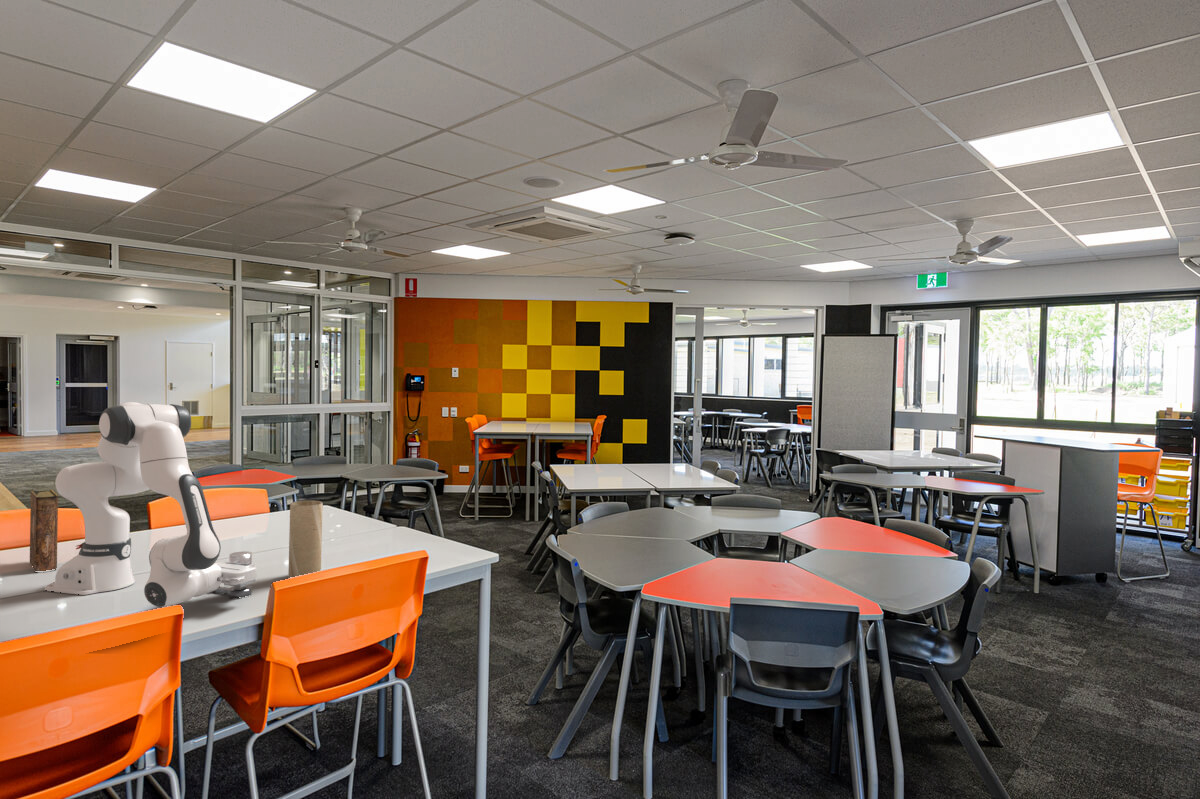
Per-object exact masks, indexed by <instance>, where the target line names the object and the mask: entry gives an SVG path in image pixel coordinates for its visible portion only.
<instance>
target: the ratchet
mask: <svg viewBox="0 0 1200 799" xmlns="http://www.w3.org/2000/svg"><path fill="white" fill-rule="evenodd" d="M219 593H224V594H223V595H227V594H228V595H227V597H230V598H229V599H233V598H237V599H240V598H239V597H244V598H246V597H245V596H248V597H250V596H252V594H253V592H252V586H251V585H249V584H247V585H245V586H242V587H236V586H230V587H225V586H221V585H220V586H219V587H218V589H216V590H215V591H212V593H211V594H219ZM249 595H250V596H249Z"/></svg>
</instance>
